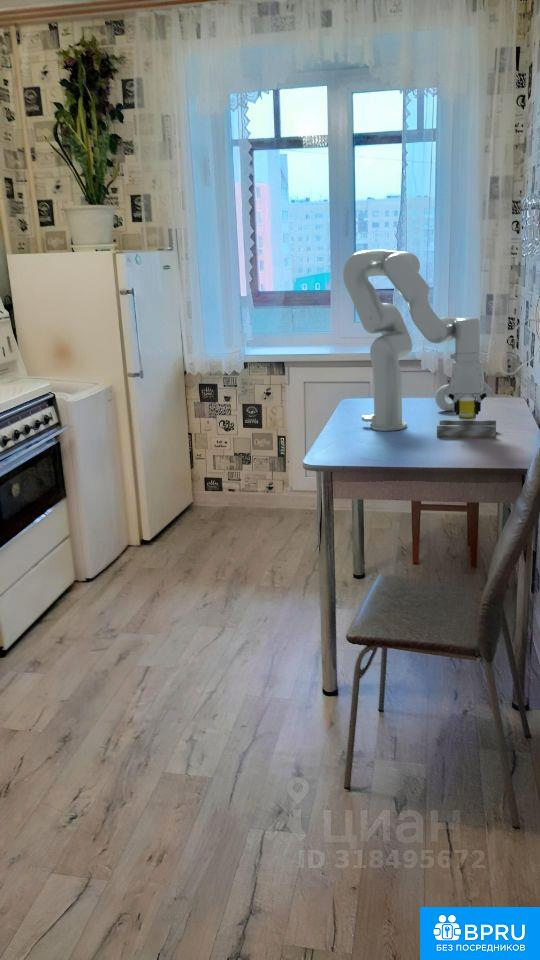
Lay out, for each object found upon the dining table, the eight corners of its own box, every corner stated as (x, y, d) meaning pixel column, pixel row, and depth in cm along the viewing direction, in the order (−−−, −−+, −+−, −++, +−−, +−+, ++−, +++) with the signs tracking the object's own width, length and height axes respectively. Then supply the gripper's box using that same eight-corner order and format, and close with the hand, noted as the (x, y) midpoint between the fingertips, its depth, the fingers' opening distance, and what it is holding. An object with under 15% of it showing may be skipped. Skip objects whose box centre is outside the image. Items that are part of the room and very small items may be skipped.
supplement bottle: (476, 421, 245) (476, 390, 242) (459, 421, 246) (459, 391, 244) (475, 417, 250) (475, 387, 248) (458, 417, 251) (458, 388, 249)
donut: (462, 409, 286) (462, 382, 283) (463, 411, 283) (463, 384, 280) (434, 410, 288) (434, 384, 285) (435, 412, 284) (435, 385, 282)
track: (436, 437, 249) (436, 425, 248) (439, 430, 257) (439, 419, 256) (494, 438, 243) (495, 426, 242) (495, 431, 251) (496, 420, 250)
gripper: (438, 360, 242) (439, 416, 247) (495, 358, 237) (494, 416, 242) (441, 356, 249) (441, 411, 254) (496, 355, 244) (495, 411, 249)
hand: (467, 413), depth 248 cm, fingers closed on supplement bottle, 5 cm apart
